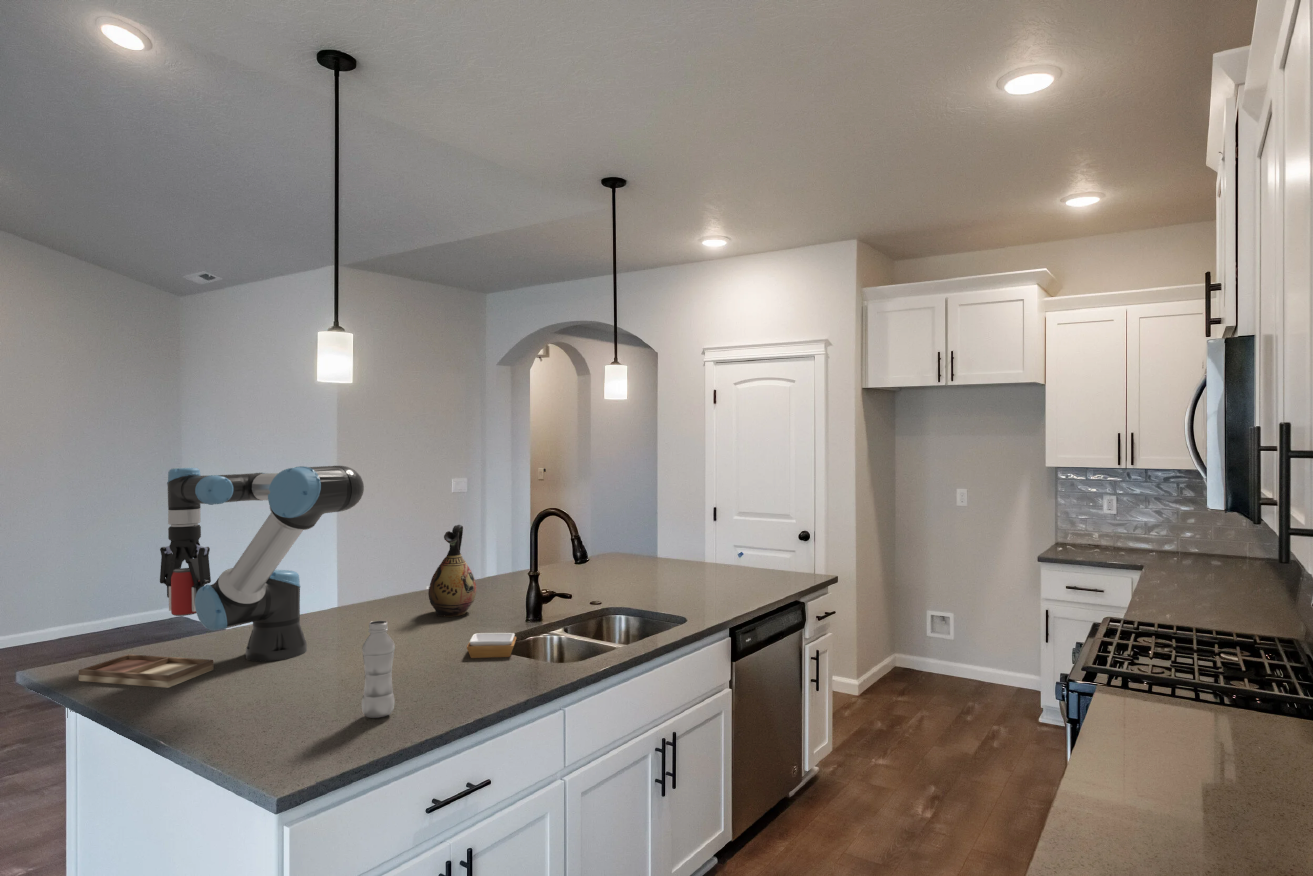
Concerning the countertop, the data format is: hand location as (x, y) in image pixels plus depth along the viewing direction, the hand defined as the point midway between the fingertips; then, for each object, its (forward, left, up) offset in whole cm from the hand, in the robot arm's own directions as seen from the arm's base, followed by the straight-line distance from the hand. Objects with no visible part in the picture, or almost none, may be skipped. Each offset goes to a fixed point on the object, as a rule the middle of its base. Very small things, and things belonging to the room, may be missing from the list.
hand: (185, 610), depth 209 cm
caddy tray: (-3, +15, -13) cm, 20 cm away
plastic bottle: (-76, +29, -13) cm, 82 cm away
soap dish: (-80, -20, -13) cm, 83 cm away
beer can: (0, 0, -1) cm, 1 cm away
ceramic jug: (-48, -61, -13) cm, 79 cm away
